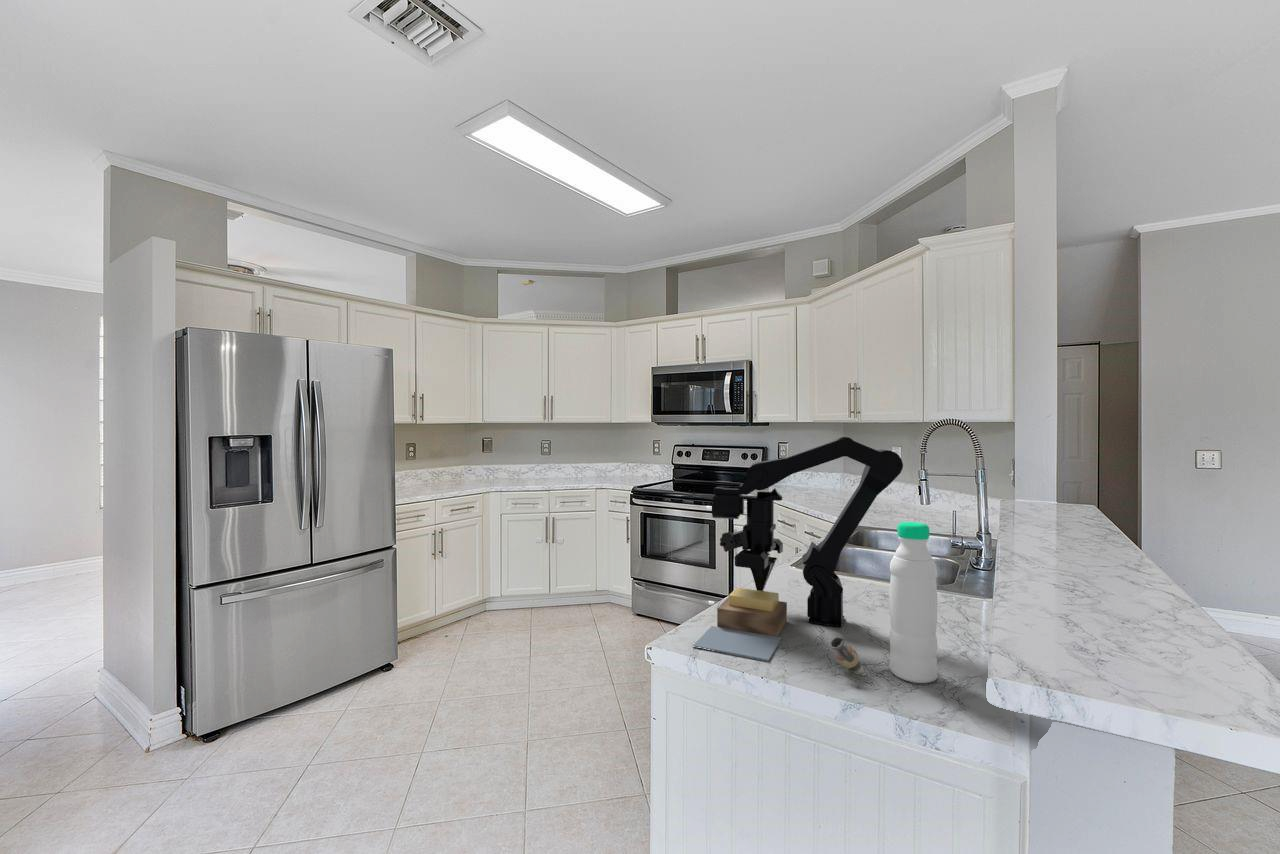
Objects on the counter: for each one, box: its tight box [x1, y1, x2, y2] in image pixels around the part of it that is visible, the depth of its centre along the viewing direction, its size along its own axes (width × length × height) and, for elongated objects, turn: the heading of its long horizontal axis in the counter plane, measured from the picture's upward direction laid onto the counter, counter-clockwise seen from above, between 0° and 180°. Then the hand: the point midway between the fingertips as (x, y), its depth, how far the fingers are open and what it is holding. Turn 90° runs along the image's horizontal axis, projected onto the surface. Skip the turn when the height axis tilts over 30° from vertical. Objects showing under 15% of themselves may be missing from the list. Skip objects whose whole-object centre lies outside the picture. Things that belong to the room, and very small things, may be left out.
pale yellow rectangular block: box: [728, 587, 780, 611], centre depth 113 cm, size 9×6×2 cm, turn 64°
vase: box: [827, 636, 871, 679], centre depth 90 cm, size 5×5×6 cm
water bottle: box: [889, 521, 938, 684], centre depth 89 cm, size 7×7×25 cm
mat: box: [692, 625, 782, 663], centre depth 102 cm, size 14×11×1 cm
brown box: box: [716, 596, 788, 637], centre depth 112 cm, size 12×10×4 cm
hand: (760, 591), depth 118 cm, fingers closed
